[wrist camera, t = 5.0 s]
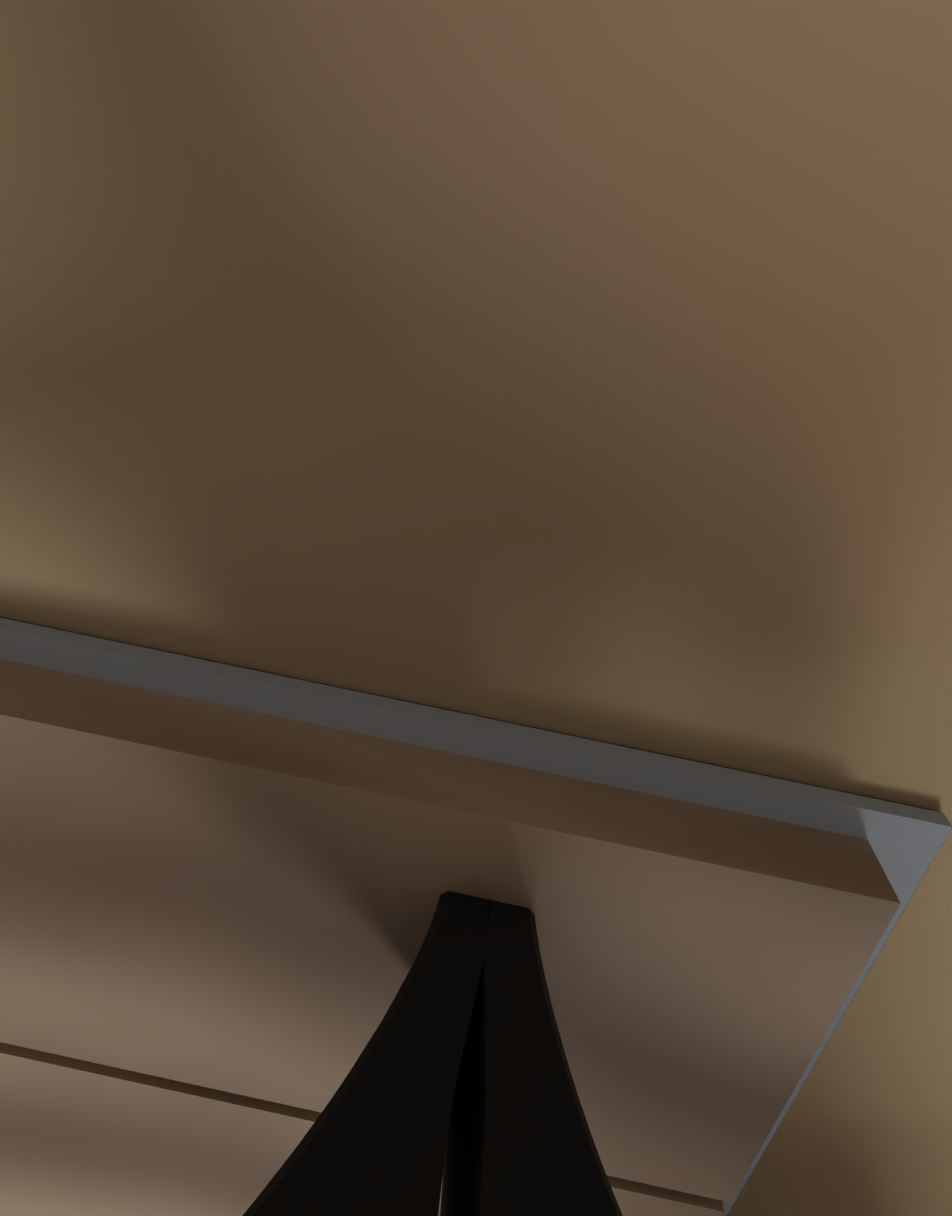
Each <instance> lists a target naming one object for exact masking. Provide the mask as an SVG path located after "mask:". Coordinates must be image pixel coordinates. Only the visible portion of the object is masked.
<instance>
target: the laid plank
mask: <svg viewBox="0 0 952 1216" xmlns="http://www.w3.org/2000/svg"><path fill="white" fill-rule="evenodd" d="M320 1114H321V1112H316V1111H312V1110H307V1109H303V1108H298V1107H294V1106H289V1105H285V1104H280V1103H275V1102H271V1101H266V1100H262V1099H257V1098H253V1097H248V1096H244V1095H239V1094H234V1093H230V1092H225V1091H221V1090H216V1089H212V1088H207V1087H203V1086H198V1085H193V1084H189V1083H184V1082H180V1081H175V1080H171V1079H166V1078H162V1077H157V1076H152V1075H148V1074H143V1073H139V1072H134V1071H130V1070H125V1069H121V1068H116V1067H111V1066H107V1065H102V1064H98V1063H93V1062H89V1061H84V1060H80V1059H75V1058H70V1057H66V1056H61V1055H57V1054H52V1053H48V1052H43V1051H39V1050H34V1049H29V1048H25V1047H20V1046H16V1045H11V1044H7V1043H2V1042H0V1216H242V1215H243V1214H244V1213H245V1212H246V1211H247V1209H248V1208H249V1207H250V1206H251V1204H252V1203H253V1202H254V1201H255V1200H256V1198H257V1197H258V1196H259V1194H260V1193H261V1192H262V1191H263V1189H264V1188H265V1187H266V1185H267V1184H268V1183H269V1182H270V1180H271V1179H272V1178H273V1177H274V1175H275V1174H276V1173H277V1171H278V1170H279V1169H280V1168H281V1166H282V1165H283V1164H284V1162H285V1161H286V1160H287V1159H288V1157H289V1156H290V1155H291V1154H292V1152H293V1151H294V1150H295V1148H296V1147H297V1146H298V1144H299V1143H300V1142H301V1140H302V1139H303V1137H304V1136H305V1135H306V1133H307V1132H308V1131H309V1129H310V1128H311V1126H312V1125H313V1124H314V1122H315V1121H316V1120H317V1118H318V1117H319V1116H320ZM607 1178H608V1180H609V1183H610V1185H611V1188H612V1190H613V1193H614V1195H615V1198H616V1200H617V1203H618V1205H619V1208H620V1210H621V1212H622V1215H623V1216H722V1215H723V1213H724V1208H723V1202H722V1200H717V1199H713V1198H708V1197H704V1196H699V1195H694V1194H690V1193H685V1192H681V1191H676V1190H672V1189H667V1188H663V1187H658V1186H653V1185H649V1184H644V1183H640V1182H635V1181H631V1180H626V1179H622V1178H617V1177H612V1176H608V1175H607ZM442 1181H443V1178H442ZM441 1195H442V1186H441ZM441 1195H440V1203H439V1212H438V1216H440V1209H441Z"/></svg>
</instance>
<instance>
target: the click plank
mask: <svg viewBox="0 0 952 1216" xmlns="http://www.w3.org/2000/svg"><path fill="white" fill-rule="evenodd" d="M448 891H452V892H457V893H461V894H466V895H470V896H475V897H480V898H484V899H489V900H493V901H498V902H503V903H508V904H512V905H517V906H522V907H526V908H530V910H531V911H532V913H533V914H534V915H535V922H536V930H537V936H538V943H539V948H540V954H541V959H542V964H543V969H544V974H545V978H546V982H547V987H548V991H549V996H550V1000H551V1004H552V1008H553V1012H554V1015H555V1019H556V1023H557V1026H558V1030H559V1033H560V1037H561V1040H562V1044H563V1047H564V1051H565V1054H566V1058H567V1061H568V1065H569V1068H570V1072H571V1075H572V1078H573V1081H574V1084H575V1087H576V1090H577V1094H578V1097H579V1100H580V1103H581V1106H582V1108H583V1111H584V1114H585V1117H586V1120H587V1123H588V1126H589V1129H590V1132H591V1135H592V1138H593V1140H594V1143H595V1146H596V1148H597V1151H598V1154H599V1157H600V1159H601V1162H602V1165H603V1167H604V1170H605V1173H606V1175H608V1176H612V1177H617V1178H622V1179H626V1180H631V1181H635V1182H640V1183H644V1184H649V1185H653V1186H658V1187H663V1188H667V1189H672V1190H676V1191H681V1192H685V1193H690V1194H694V1195H699V1196H704V1197H708V1198H713V1199H717V1200H722V1201H726V1202H730V1201H731V1199H732V1197H733V1196H734V1194H735V1192H736V1190H737V1189H738V1187H739V1185H740V1183H741V1182H742V1180H743V1178H744V1176H745V1175H746V1173H747V1171H748V1169H749V1168H750V1166H751V1164H752V1162H753V1161H754V1159H755V1157H756V1155H757V1154H758V1152H759V1150H760V1148H761V1147H762V1145H763V1143H764V1141H765V1140H766V1138H767V1136H768V1134H769V1133H770V1131H771V1129H772V1128H773V1126H774V1124H775V1122H776V1121H777V1119H778V1117H779V1115H780V1114H781V1112H782V1110H783V1108H784V1107H785V1105H786V1103H787V1101H788V1100H789V1098H790V1096H791V1094H792V1093H793V1091H794V1089H795V1087H796V1086H797V1084H798V1082H799V1080H800V1079H801V1077H802V1075H803V1073H804V1072H805V1070H806V1068H807V1066H808V1065H809V1063H810V1061H811V1059H812V1058H813V1056H814V1054H815V1052H816V1051H817V1049H818V1047H819V1045H820V1044H821V1042H822V1040H823V1038H824V1037H825V1035H826V1033H827V1031H828V1030H829V1028H830V1026H831V1024H832V1023H833V1021H834V1019H835V1017H836V1016H837V1014H838V1012H839V1010H840V1009H841V1007H842V1005H843V1003H844V1002H845V1000H846V998H847V996H848V995H849V993H850V991H851V989H852V988H853V986H854V984H855V982H856V981H857V979H858V977H859V975H860V974H861V972H862V970H863V968H864V967H865V965H866V963H867V961H868V960H869V958H870V956H871V954H872V953H873V951H874V949H875V947H876V946H877V944H878V942H879V940H880V939H881V937H882V935H883V933H884V932H885V930H886V928H887V926H888V925H889V923H890V921H891V919H892V918H893V916H894V914H895V912H896V911H897V909H898V907H899V905H900V904H901V903H900V901H899V899H898V897H897V895H896V893H895V891H894V889H893V887H892V885H891V883H890V882H889V880H888V878H887V876H886V874H885V872H884V870H883V868H882V866H881V864H880V862H879V860H878V859H877V857H876V855H875V853H874V851H873V849H872V847H871V845H870V843H869V841H868V839H864V838H859V837H854V836H849V835H844V834H840V833H835V832H830V831H825V830H820V829H816V828H811V827H806V826H801V825H796V824H791V823H787V822H782V821H777V820H772V819H767V818H763V817H758V816H753V815H748V814H743V813H739V812H734V811H729V810H724V809H719V808H715V807H710V806H705V805H700V804H695V803H691V802H686V801H681V800H676V799H671V798H667V797H662V796H657V795H652V794H647V793H643V792H638V791H633V790H628V789H623V788H618V787H614V786H609V785H604V784H599V783H594V782H590V781H585V780H580V779H575V778H570V777H566V776H561V775H556V774H551V773H546V772H542V771H537V770H532V769H527V768H522V767H518V766H513V765H508V764H503V763H498V762H494V761H489V760H484V759H479V758H474V757H470V756H465V755H460V754H455V753H450V752H445V751H441V750H436V749H431V748H426V747H421V746H417V745H412V744H407V743H402V742H397V741H393V740H388V739H383V738H378V737H373V736H369V735H364V734H359V733H354V732H349V731H345V730H340V729H335V728H330V727H325V726H321V725H316V724H311V723H306V722H301V721H296V720H292V719H287V718H282V717H277V716H272V715H268V714H263V713H258V712H253V711H248V710H244V709H239V708H234V707H229V706H224V705H220V704H215V703H210V702H205V701H200V700H196V699H191V698H186V697H181V696H176V695H172V694H167V693H162V692H157V691H152V690H148V689H143V688H138V687H133V686H128V685H123V684H119V683H114V682H109V681H104V680H99V679H95V678H90V677H85V676H80V675H75V674H71V673H66V672H61V671H56V670H51V669H47V668H42V667H37V666H32V665H27V664H23V663H18V662H13V661H8V660H3V659H0V1042H2V1043H7V1044H11V1045H16V1046H20V1047H25V1048H29V1049H34V1050H39V1051H43V1052H48V1053H52V1054H57V1055H61V1056H66V1057H70V1058H75V1059H80V1060H84V1061H89V1062H93V1063H98V1064H102V1065H107V1066H111V1067H116V1068H121V1069H125V1070H130V1071H134V1072H139V1073H143V1074H148V1075H152V1076H157V1077H162V1078H166V1079H171V1080H175V1081H180V1082H184V1083H189V1084H193V1085H198V1086H203V1087H207V1088H212V1089H216V1090H221V1091H225V1092H230V1093H234V1094H239V1095H244V1096H248V1097H253V1098H257V1099H262V1100H266V1101H271V1102H275V1103H280V1104H285V1105H289V1106H294V1107H298V1108H303V1109H307V1110H312V1111H316V1112H321V1113H322V1111H323V1110H324V1108H325V1107H326V1106H327V1104H328V1103H329V1101H330V1100H331V1098H332V1097H333V1096H334V1094H335V1093H336V1091H337V1090H338V1088H339V1087H340V1085H341V1084H342V1082H343V1081H344V1079H345V1078H346V1076H347V1075H348V1073H349V1072H350V1070H351V1069H352V1067H353V1066H354V1064H355V1062H356V1061H357V1059H358V1058H359V1056H360V1054H361V1053H362V1051H363V1050H364V1048H365V1047H366V1045H367V1043H368V1042H369V1040H370V1039H371V1037H372V1036H373V1034H374V1032H375V1031H376V1029H377V1028H378V1026H379V1024H380V1023H381V1021H382V1019H383V1018H384V1016H385V1014H386V1013H387V1011H388V1009H389V1007H390V1005H391V1003H392V1002H393V1000H394V998H395V996H396V994H397V993H398V991H399V989H400V987H401V985H402V983H403V982H404V980H405V978H406V976H407V974H408V972H409V971H410V969H411V967H412V965H413V963H414V960H415V958H416V956H417V954H418V952H419V950H420V948H421V946H422V944H423V941H424V939H425V937H426V935H427V932H428V930H429V927H430V925H431V922H432V919H433V917H434V914H435V911H436V908H437V905H438V901H439V897H440V895H441V894H443V893H445V892H448Z"/></svg>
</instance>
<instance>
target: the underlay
mask: <svg viewBox="0 0 952 1216" xmlns="http://www.w3.org/2000/svg"><path fill="white" fill-rule="evenodd" d="M0 659H3V660H8V661H13V662H18V663H23V664H27V665H32V666H37V667H42V668H47V669H51V670H56V671H61V672H66V673H71V674H75V675H80V676H85V677H90V678H95V679H99V680H104V681H109V682H114V683H119V684H123V685H128V686H133V687H138V688H143V689H148V690H152V691H157V692H162V693H167V694H172V695H176V696H181V697H186V698H191V699H196V700H200V701H205V702H210V703H215V704H220V705H224V706H229V707H234V708H239V709H244V710H248V711H253V712H258V713H263V714H268V715H272V716H277V717H282V718H287V719H292V720H296V721H301V722H306V723H311V724H316V725H321V726H325V727H330V728H335V729H340V730H345V731H349V732H354V733H359V734H364V735H369V736H373V737H378V738H383V739H388V740H393V741H397V742H402V743H407V744H412V745H417V746H421V747H426V748H431V749H436V750H441V751H445V752H450V753H455V754H460V755H465V756H470V757H474V758H479V759H484V760H489V761H494V762H498V763H503V764H508V765H513V766H518V767H522V768H527V769H532V770H537V771H542V772H546V773H551V774H556V775H561V776H566V777H570V778H575V779H580V780H585V781H590V782H594V783H599V784H604V785H609V786H614V787H618V788H623V789H628V790H633V791H638V792H643V793H647V794H652V795H657V796H662V797H667V798H671V799H676V800H681V801H686V802H691V803H695V804H700V805H705V806H710V807H715V808H719V809H724V810H729V811H734V812H739V813H743V814H748V815H753V816H758V817H763V818H767V819H772V820H777V821H782V822H787V823H791V824H796V825H801V826H806V827H811V828H816V829H820V830H825V831H830V832H835V833H840V834H844V835H849V836H854V837H859V838H864V839H868V841H869V843H870V845H871V847H872V849H873V851H874V853H875V855H876V857H877V859H878V860H879V862H880V864H881V866H882V868H883V870H884V872H885V874H886V876H887V878H888V880H889V882H890V883H891V885H892V887H893V889H894V891H895V893H896V895H897V897H898V899H899V901H900V903H901V904H900V905H899V907H898V909H897V911H896V912H895V914H894V916H893V918H892V919H891V921H890V923H889V925H888V926H887V928H886V930H885V932H884V933H883V935H882V937H881V939H880V940H879V942H878V944H877V946H876V947H875V949H874V951H873V953H872V954H871V956H870V958H869V960H868V961H867V963H866V965H865V967H864V968H863V970H862V972H861V974H860V975H859V977H858V979H857V981H856V982H855V984H854V986H853V988H852V989H851V991H850V993H849V995H848V996H847V998H846V1000H845V1002H844V1003H843V1005H842V1007H841V1009H840V1010H839V1012H838V1014H837V1016H836V1017H835V1019H834V1021H833V1023H832V1024H831V1026H830V1028H829V1030H828V1031H827V1033H826V1035H825V1037H824V1038H823V1040H822V1042H821V1044H820V1045H819V1047H818V1049H817V1051H816V1052H815V1054H814V1056H813V1058H812V1059H811V1061H810V1063H809V1065H808V1066H807V1068H806V1070H805V1072H804V1073H803V1075H802V1077H801V1079H800V1080H799V1082H798V1084H797V1086H796V1087H795V1089H794V1091H793V1093H792V1094H791V1096H790V1098H789V1100H788V1101H787V1103H786V1105H785V1107H784V1108H783V1110H782V1112H781V1114H780V1115H779V1117H778V1119H777V1121H776V1122H775V1124H774V1126H773V1128H772V1129H771V1131H770V1133H769V1134H768V1136H767V1138H766V1140H765V1141H764V1143H763V1145H762V1147H761V1148H760V1150H759V1152H758V1154H757V1155H756V1157H755V1159H754V1161H753V1162H752V1164H751V1166H750V1168H749V1169H748V1171H747V1173H746V1175H745V1176H744V1178H743V1180H742V1182H741V1183H740V1185H739V1187H738V1189H737V1190H736V1192H735V1194H734V1196H733V1197H732V1199H731V1201H730V1202H726V1201H722V1202H723V1208H724V1213H723V1215H722V1216H727V1215H728V1213H729V1211H730V1210H731V1208H732V1206H733V1205H734V1203H735V1201H736V1199H737V1198H738V1196H739V1194H740V1193H741V1191H742V1189H743V1187H744V1186H745V1184H746V1182H747V1180H748V1179H749V1177H750V1175H751V1174H752V1172H753V1170H754V1168H755V1167H756V1165H757V1163H758V1161H759V1160H760V1158H761V1156H762V1155H763V1153H764V1151H765V1149H766V1148H767V1146H768V1144H769V1142H770V1141H771V1139H772V1137H773V1136H774V1134H775V1132H776V1130H777V1129H778V1127H779V1125H780V1124H781V1122H782V1120H783V1118H784V1117H785V1115H786V1113H787V1111H788V1110H789V1108H790V1106H791V1105H792V1103H793V1101H794V1099H795V1098H796V1096H797V1094H798V1092H799V1091H800V1089H801V1087H802V1086H803V1084H804V1082H805V1080H806V1079H807V1077H808V1075H809V1074H810V1072H811V1070H812V1068H813V1067H814V1065H815V1063H816V1061H817V1060H818V1058H819V1056H820V1055H821V1053H822V1051H823V1049H824V1048H825V1046H826V1044H827V1042H828V1041H829V1039H830V1037H831V1036H832V1034H833V1032H834V1030H835V1029H836V1027H837V1025H838V1023H839V1022H840V1020H841V1018H842V1017H843V1015H844V1013H845V1011H846V1010H847V1008H848V1006H849V1005H850V1003H851V1001H852V999H853V998H854V996H855V994H856V992H857V991H858V989H859V987H860V986H861V984H862V982H863V980H864V979H865V977H866V975H867V973H868V972H869V970H870V968H871V967H872V965H873V963H874V961H875V960H876V958H877V956H878V954H879V953H880V951H881V949H882V948H883V946H884V944H885V942H886V941H887V939H888V937H889V936H890V934H891V932H892V930H893V929H894V927H895V925H896V923H897V922H898V920H899V918H900V917H901V915H902V913H903V911H904V910H905V908H906V906H907V904H908V903H909V901H910V899H911V898H912V896H913V894H914V892H915V891H916V889H917V887H918V886H919V884H920V882H921V880H922V879H923V877H924V875H925V873H926V872H927V870H928V868H929V867H930V865H931V863H932V861H933V860H934V858H935V856H936V854H937V853H938V851H939V849H940V848H941V846H942V844H943V842H944V841H945V839H946V837H947V835H948V834H949V832H950V830H951V829H952V826H951V824H950V823H949V821H948V820H947V818H946V817H945V815H944V814H943V813H942V812H937V811H932V810H927V809H922V808H917V807H913V806H908V805H903V804H898V803H893V802H888V801H884V800H879V799H874V798H869V797H864V796H859V795H855V794H850V793H845V792H840V791H835V790H830V789H825V788H821V787H816V786H811V785H806V784H801V783H796V782H792V781H787V780H782V779H777V778H772V777H767V776H763V775H758V774H753V773H748V772H743V771H738V770H734V769H729V768H724V767H719V766H714V765H709V764H705V763H700V762H695V761H690V760H685V759H680V758H676V757H671V756H666V755H661V754H656V753H651V752H647V751H642V750H637V749H632V748H627V747H622V746H618V745H613V744H608V743H603V742H598V741H593V740H589V739H584V738H579V737H574V736H569V735H564V734H560V733H555V732H550V731H545V730H540V729H535V728H531V727H526V726H521V725H516V724H511V723H506V722H502V721H497V720H492V719H487V718H482V717H477V716H473V715H468V714H463V713H458V712H453V711H448V710H444V709H439V708H434V707H429V706H424V705H419V704H415V703H410V702H405V701H400V700H395V699H390V698H386V697H381V696H376V695H371V694H366V693H361V692H357V691H352V690H347V689H342V688H337V687H332V686H328V685H323V684H318V683H313V682H308V681H303V680H299V679H294V678H289V677H284V676H279V675H274V674H270V673H265V672H260V671H255V670H250V669H245V668H241V667H236V666H231V665H226V664H221V663H216V662H212V661H207V660H202V659H197V658H192V657H187V656H183V655H178V654H173V653H168V652H163V651H158V650H154V649H149V648H144V647H139V646H134V645H129V644H125V643H120V642H115V641H110V640H105V639H100V638H96V637H91V636H86V635H81V634H76V633H71V632H67V631H62V630H57V629H52V628H47V627H42V626H38V625H33V624H28V623H23V622H18V621H13V620H8V619H4V618H0Z"/></svg>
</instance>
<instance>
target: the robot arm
mask: <svg viewBox="0 0 952 1216" xmlns="http://www.w3.org/2000/svg"><path fill="white" fill-rule="evenodd" d="M442 1178H443V1181H442ZM441 1186H442V1195H441ZM440 1195H441V1209H440V1216H623V1215H622V1212H621V1210H620V1208H619V1205H618V1203H617V1200H616V1198H615V1195H614V1193H613V1190H612V1188H611V1185H610V1183H609V1180H608V1178H607V1175H606V1173H605V1170H604V1167H603V1165H602V1162H601V1159H600V1157H599V1154H598V1151H597V1148H596V1146H595V1143H594V1140H593V1138H592V1135H591V1132H590V1129H589V1126H588V1123H587V1120H586V1117H585V1114H584V1111H583V1108H582V1106H581V1103H580V1100H579V1097H578V1094H577V1090H576V1087H575V1084H574V1081H573V1078H572V1075H571V1072H570V1068H569V1065H568V1061H567V1058H566V1054H565V1051H564V1047H563V1044H562V1040H561V1037H560V1033H559V1030H558V1026H557V1023H556V1019H555V1015H554V1012H553V1008H552V1004H551V1000H550V996H549V991H548V987H547V982H546V978H545V974H544V969H543V964H542V959H541V954H540V948H539V943H538V936H537V930H536V922H535V915H534V914H533V913H532V911H531V910H530V908H526V907H522V906H517V905H512V904H508V903H503V902H498V901H493V900H489V899H484V898H480V897H475V896H470V895H466V894H461V893H457V892H452V891H448V892H445V893H443V894H441V895H440V897H439V901H438V905H437V908H436V911H435V914H434V917H433V919H432V922H431V925H430V927H429V930H428V932H427V935H426V937H425V939H424V941H423V944H422V946H421V948H420V950H419V952H418V954H417V956H416V958H415V960H414V963H413V965H412V967H411V969H410V971H409V972H408V974H407V976H406V978H405V980H404V982H403V983H402V985H401V987H400V989H399V991H398V993H397V994H396V996H395V998H394V1000H393V1002H392V1003H391V1005H390V1007H389V1009H388V1011H387V1013H386V1014H385V1016H384V1018H383V1019H382V1021H381V1023H380V1024H379V1026H378V1028H377V1029H376V1031H375V1032H374V1034H373V1036H372V1037H371V1039H370V1040H369V1042H368V1043H367V1045H366V1047H365V1048H364V1050H363V1051H362V1053H361V1054H360V1056H359V1058H358V1059H357V1061H356V1062H355V1064H354V1066H353V1067H352V1069H351V1070H350V1072H349V1073H348V1075H347V1076H346V1078H345V1079H344V1081H343V1082H342V1084H341V1085H340V1087H339V1088H338V1090H337V1091H336V1093H335V1094H334V1096H333V1097H332V1098H331V1100H330V1101H329V1103H328V1104H327V1106H326V1107H325V1108H324V1110H323V1111H322V1113H321V1114H320V1116H319V1117H318V1118H317V1120H316V1121H315V1122H314V1124H313V1125H312V1126H311V1128H310V1129H309V1131H308V1132H307V1133H306V1135H305V1136H304V1137H303V1139H302V1140H301V1142H300V1143H299V1144H298V1146H297V1147H296V1148H295V1150H294V1151H293V1152H292V1154H291V1155H290V1156H289V1157H288V1159H287V1160H286V1161H285V1162H284V1164H283V1165H282V1166H281V1168H280V1169H279V1170H278V1171H277V1173H276V1174H275V1175H274V1177H273V1178H272V1179H271V1180H270V1182H269V1183H268V1184H267V1185H266V1187H265V1188H264V1189H263V1191H262V1192H261V1193H260V1194H259V1196H258V1197H257V1198H256V1200H255V1201H254V1202H253V1203H252V1204H251V1206H250V1207H249V1208H248V1209H247V1211H246V1212H245V1213H244V1214H243V1215H242V1216H438V1212H439V1203H440Z"/></svg>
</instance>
